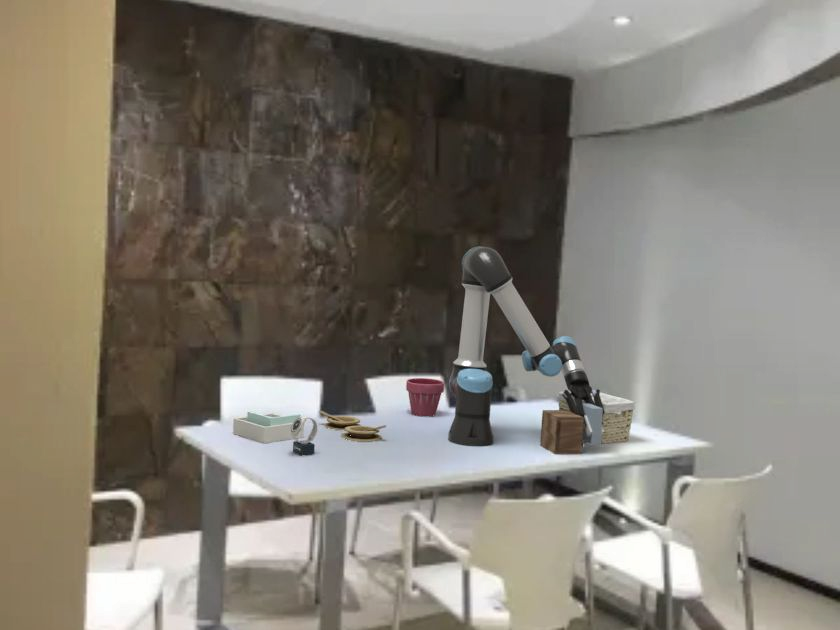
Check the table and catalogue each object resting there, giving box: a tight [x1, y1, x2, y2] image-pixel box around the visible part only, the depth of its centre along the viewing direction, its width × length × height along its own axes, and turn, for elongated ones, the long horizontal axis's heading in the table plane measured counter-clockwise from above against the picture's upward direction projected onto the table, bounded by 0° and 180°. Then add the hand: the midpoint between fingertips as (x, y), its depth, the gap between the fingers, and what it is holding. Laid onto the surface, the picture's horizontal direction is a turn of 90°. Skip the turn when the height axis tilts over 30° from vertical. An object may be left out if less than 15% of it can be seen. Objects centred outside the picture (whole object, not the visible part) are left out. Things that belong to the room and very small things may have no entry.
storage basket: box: [557, 390, 636, 445], centre depth 327 cm, size 24×16×15 cm
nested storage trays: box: [232, 412, 305, 444], centre depth 295 cm, size 16×16×5 cm
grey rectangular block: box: [582, 403, 603, 446], centre depth 304 cm, size 9×4×12 cm, turn 17°
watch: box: [291, 415, 319, 457], centre depth 275 cm, size 6×8×11 cm
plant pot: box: [405, 377, 445, 417], centre depth 347 cm, size 14×14×13 cm
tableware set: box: [318, 410, 387, 443], centre depth 309 cm, size 30×20×6 cm, turn 27°
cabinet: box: [539, 409, 585, 455], centre depth 302 cm, size 12×10×12 cm
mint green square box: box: [246, 410, 302, 427], centre depth 295 cm, size 12×12×8 cm
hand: (595, 433), depth 301 cm, fingers closed on grey rectangular block, 3 cm apart
